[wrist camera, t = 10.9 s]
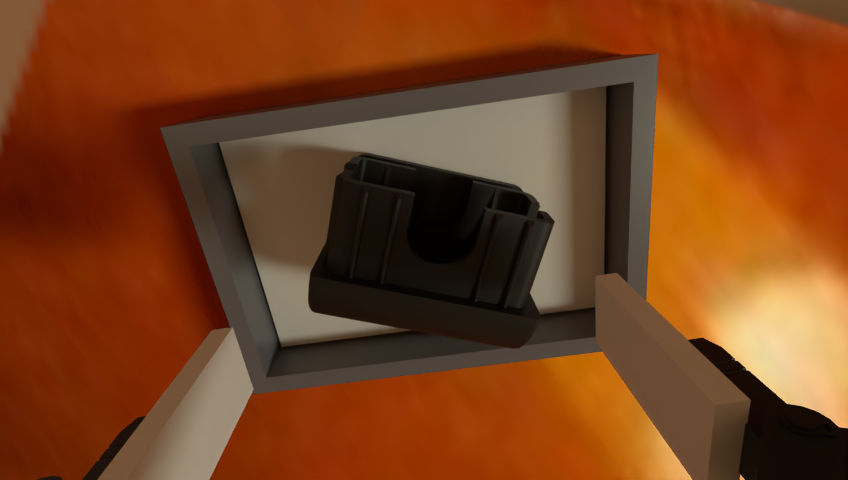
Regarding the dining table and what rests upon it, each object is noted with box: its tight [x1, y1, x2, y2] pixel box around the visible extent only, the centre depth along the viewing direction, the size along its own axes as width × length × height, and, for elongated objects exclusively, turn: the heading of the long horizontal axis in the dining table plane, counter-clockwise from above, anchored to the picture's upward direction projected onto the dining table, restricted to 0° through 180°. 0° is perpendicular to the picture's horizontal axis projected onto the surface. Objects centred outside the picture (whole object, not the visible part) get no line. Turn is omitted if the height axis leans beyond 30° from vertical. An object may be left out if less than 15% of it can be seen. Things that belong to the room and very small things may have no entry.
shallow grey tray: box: [160, 54, 658, 394], centre depth 24 cm, size 22×15×4 cm
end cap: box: [308, 153, 555, 349], centre depth 22 cm, size 10×7×7 cm
